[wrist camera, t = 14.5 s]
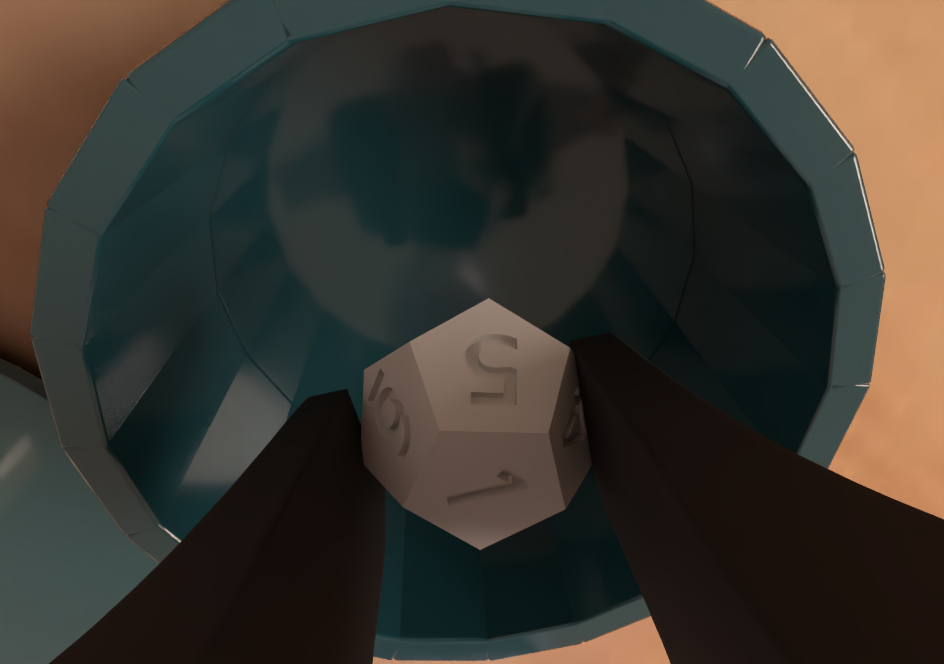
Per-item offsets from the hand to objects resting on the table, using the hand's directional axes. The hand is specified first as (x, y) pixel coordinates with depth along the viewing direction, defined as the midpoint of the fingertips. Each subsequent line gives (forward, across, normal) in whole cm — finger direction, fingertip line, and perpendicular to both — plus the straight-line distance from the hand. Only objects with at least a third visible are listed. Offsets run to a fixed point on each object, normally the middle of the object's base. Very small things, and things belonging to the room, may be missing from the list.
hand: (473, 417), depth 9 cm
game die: (+2, 0, 0) cm, 2 cm away
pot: (+6, 0, 0) cm, 6 cm away
